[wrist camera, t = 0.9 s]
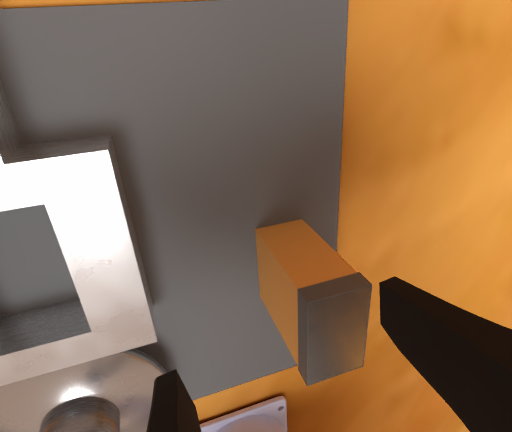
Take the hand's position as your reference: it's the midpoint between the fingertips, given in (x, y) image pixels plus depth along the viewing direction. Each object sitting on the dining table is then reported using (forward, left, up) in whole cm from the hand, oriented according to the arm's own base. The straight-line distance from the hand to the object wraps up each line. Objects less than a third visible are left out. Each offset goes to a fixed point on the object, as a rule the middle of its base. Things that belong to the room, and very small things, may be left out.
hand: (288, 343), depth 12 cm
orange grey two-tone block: (-3, -3, -9) cm, 11 cm away
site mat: (-1, +5, -10) cm, 11 cm away
